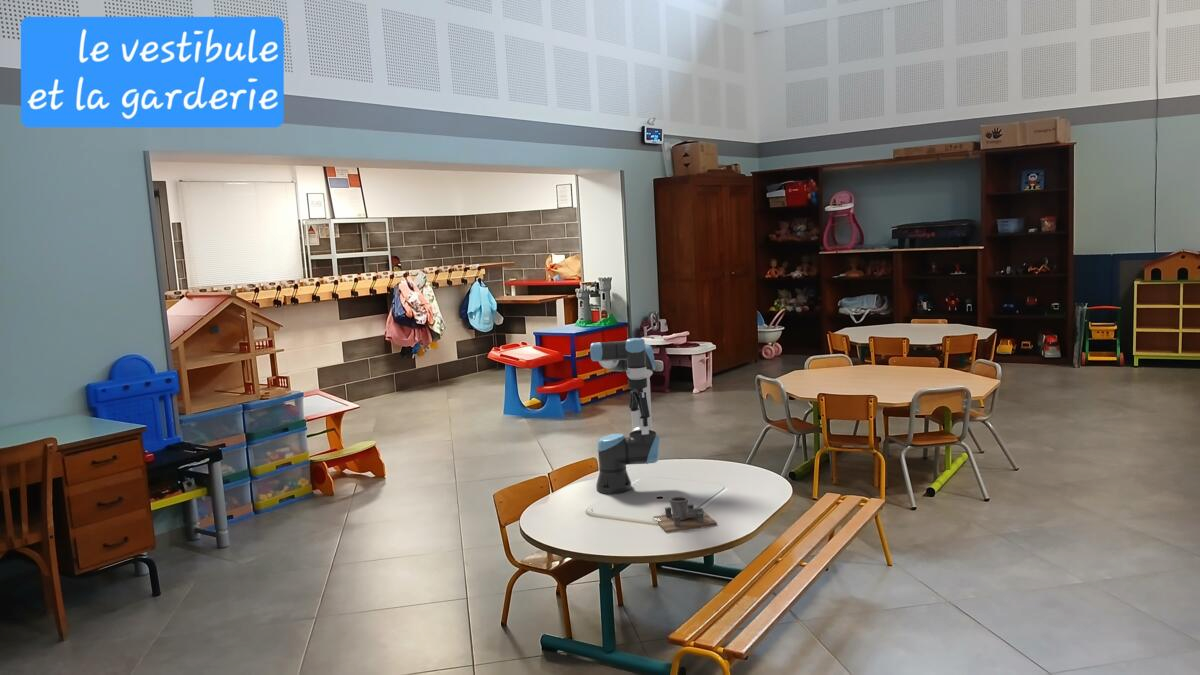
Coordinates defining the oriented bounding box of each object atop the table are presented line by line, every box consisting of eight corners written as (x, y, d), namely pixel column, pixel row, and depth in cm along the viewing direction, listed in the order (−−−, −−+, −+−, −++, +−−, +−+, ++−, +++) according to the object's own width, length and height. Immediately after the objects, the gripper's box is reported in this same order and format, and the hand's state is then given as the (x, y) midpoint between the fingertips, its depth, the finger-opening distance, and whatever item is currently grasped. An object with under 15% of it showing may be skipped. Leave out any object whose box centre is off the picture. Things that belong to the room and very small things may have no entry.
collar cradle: (652, 519, 330) (652, 507, 330) (701, 511, 335) (701, 500, 334) (665, 532, 315) (665, 520, 314) (717, 525, 319) (716, 513, 319)
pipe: (703, 521, 321) (702, 501, 320) (669, 521, 323) (667, 501, 322) (703, 516, 327) (702, 495, 326) (670, 516, 329) (669, 496, 328)
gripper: (619, 373, 349) (623, 425, 351) (636, 383, 324) (640, 438, 327) (637, 372, 350) (640, 422, 353) (655, 381, 326) (658, 436, 329)
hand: (640, 430), depth 340 cm, fingers open, 13 cm apart
